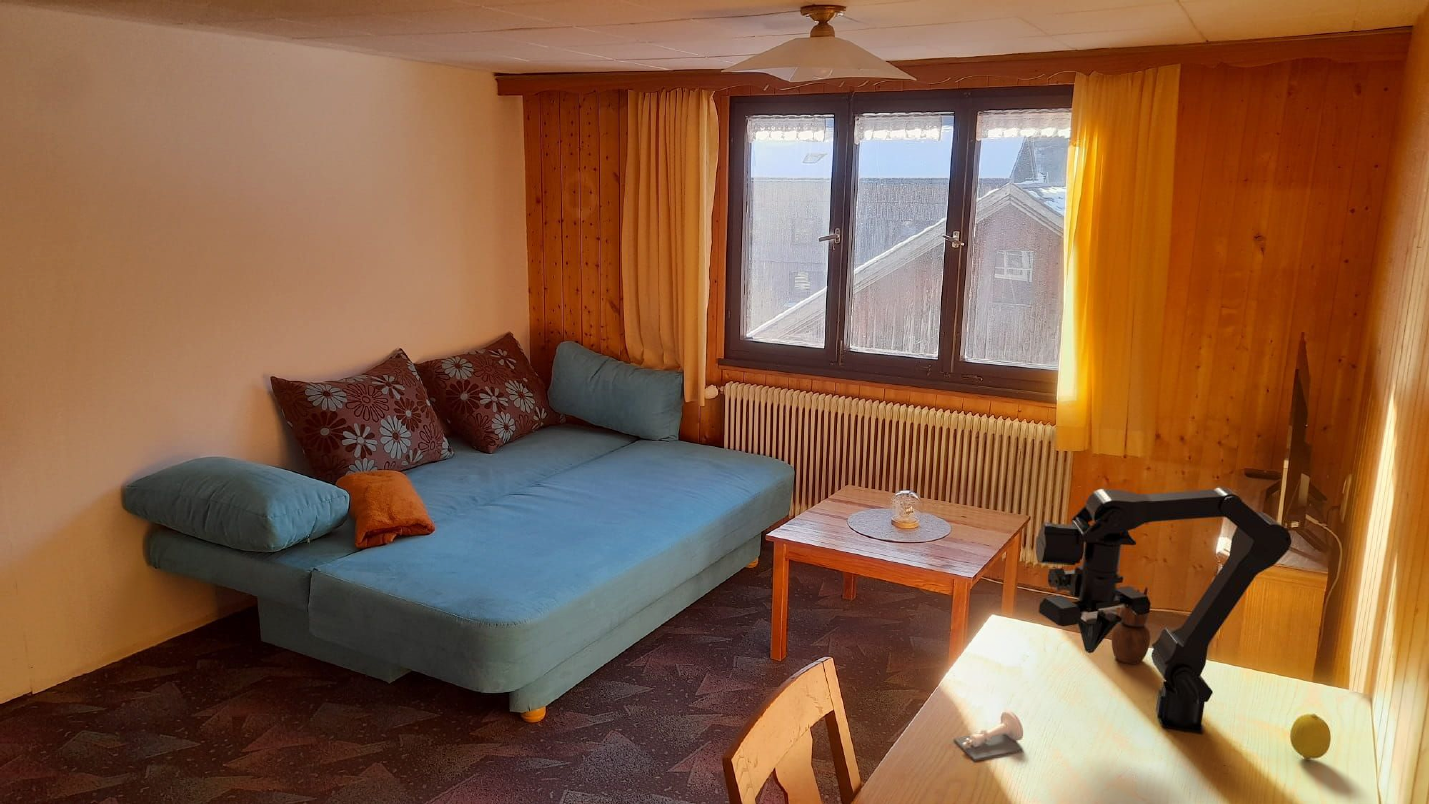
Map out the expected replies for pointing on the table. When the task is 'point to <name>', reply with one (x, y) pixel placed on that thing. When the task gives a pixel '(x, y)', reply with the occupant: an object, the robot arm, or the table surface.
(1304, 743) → the lemon
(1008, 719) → the chess piece
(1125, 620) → the wooden figurine
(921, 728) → the table surface
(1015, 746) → the slate mat
